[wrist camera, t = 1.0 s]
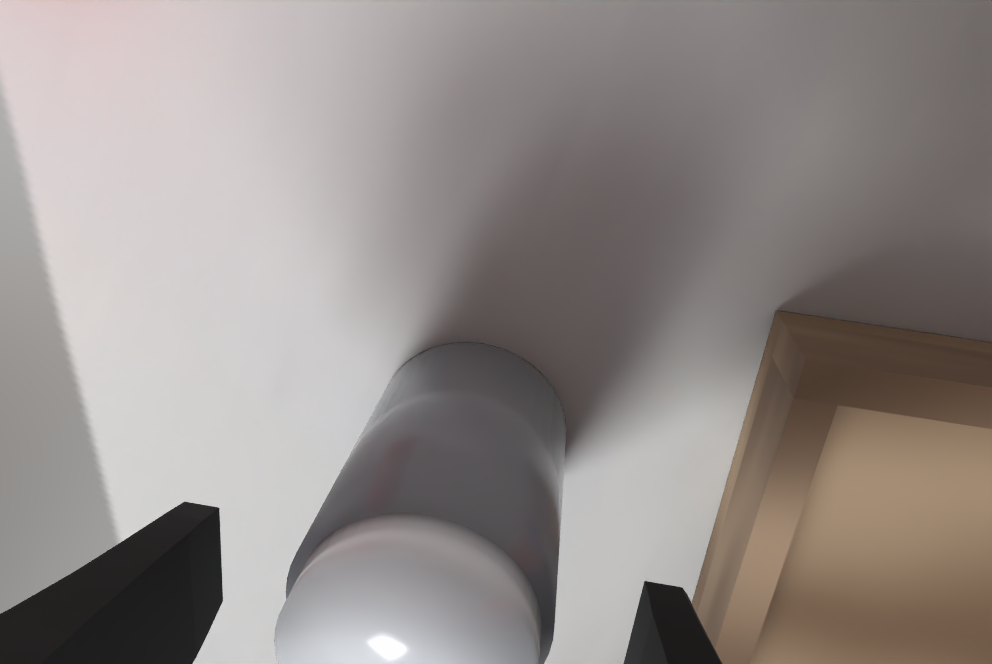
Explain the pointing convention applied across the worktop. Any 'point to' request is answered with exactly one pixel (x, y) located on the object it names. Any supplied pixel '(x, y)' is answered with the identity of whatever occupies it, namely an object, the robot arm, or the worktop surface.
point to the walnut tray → (857, 503)
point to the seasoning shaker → (438, 523)
